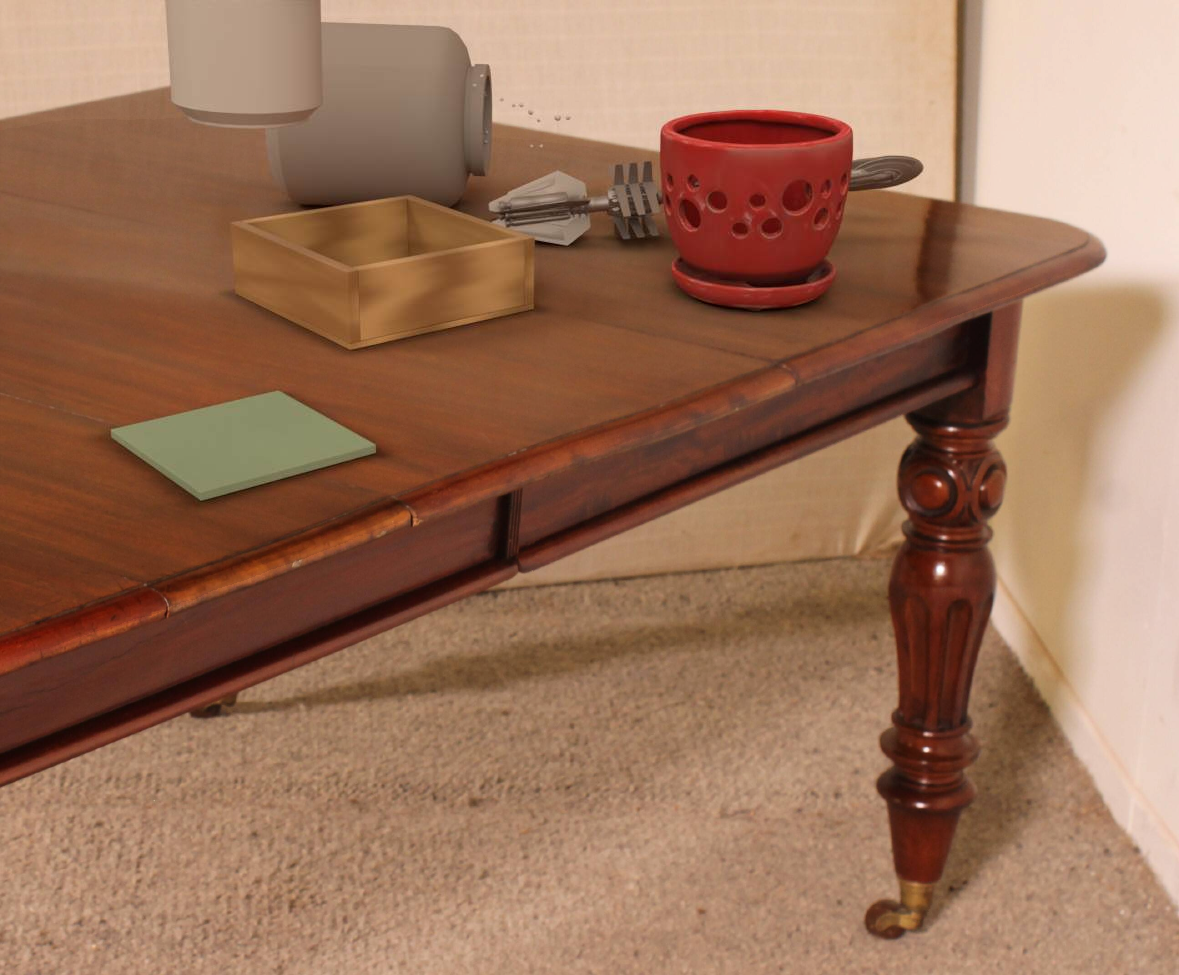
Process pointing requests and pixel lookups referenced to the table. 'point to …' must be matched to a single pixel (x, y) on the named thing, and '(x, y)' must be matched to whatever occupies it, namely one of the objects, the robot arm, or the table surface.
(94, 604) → the table surface
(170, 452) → the mat
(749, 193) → the flower pot
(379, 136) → the jar
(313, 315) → the wooden box
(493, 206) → the spaceship
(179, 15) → the can
